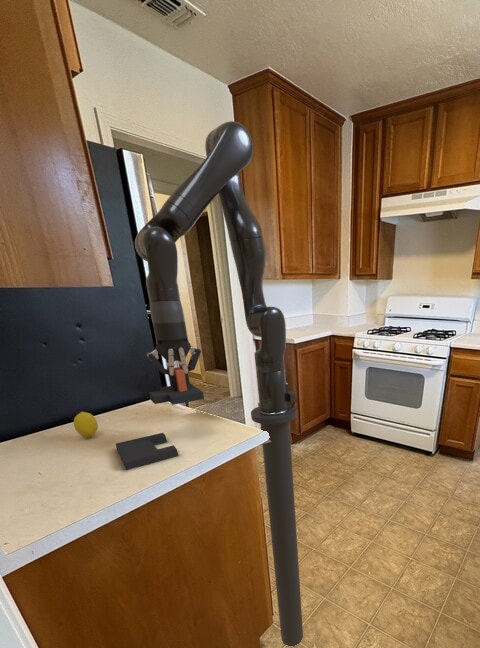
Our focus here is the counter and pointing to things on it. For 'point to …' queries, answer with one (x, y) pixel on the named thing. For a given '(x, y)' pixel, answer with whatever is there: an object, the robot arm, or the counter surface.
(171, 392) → the pad
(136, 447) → the base pad
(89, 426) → the lemon
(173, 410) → the counter surface
